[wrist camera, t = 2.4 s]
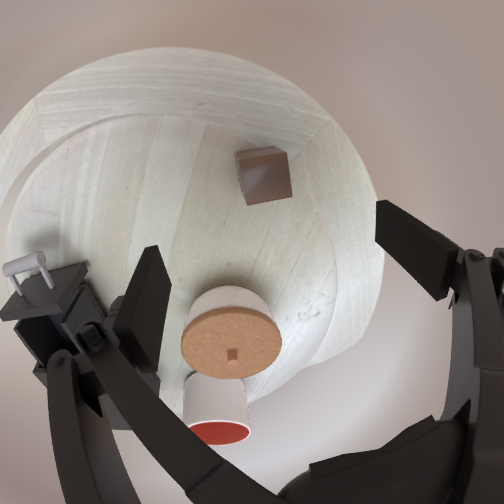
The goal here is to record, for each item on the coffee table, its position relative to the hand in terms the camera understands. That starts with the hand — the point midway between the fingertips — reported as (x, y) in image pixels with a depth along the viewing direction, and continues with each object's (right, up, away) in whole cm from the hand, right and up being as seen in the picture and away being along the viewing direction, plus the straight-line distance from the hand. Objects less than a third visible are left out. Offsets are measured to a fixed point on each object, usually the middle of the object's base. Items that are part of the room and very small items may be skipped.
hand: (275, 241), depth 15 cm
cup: (-8, -22, +26) cm, 35 cm away
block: (-1, +8, +11) cm, 14 cm away
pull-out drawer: (-26, -7, +14) cm, 30 cm away
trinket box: (-4, -7, +19) cm, 21 cm away
